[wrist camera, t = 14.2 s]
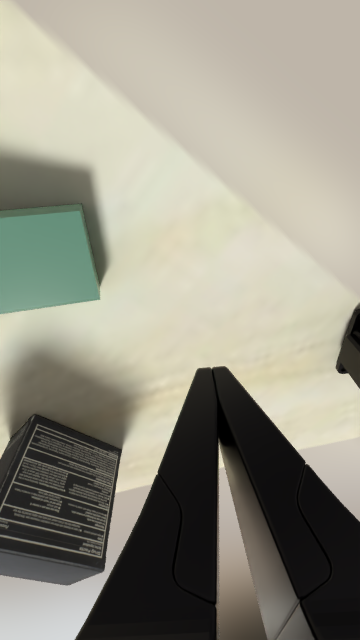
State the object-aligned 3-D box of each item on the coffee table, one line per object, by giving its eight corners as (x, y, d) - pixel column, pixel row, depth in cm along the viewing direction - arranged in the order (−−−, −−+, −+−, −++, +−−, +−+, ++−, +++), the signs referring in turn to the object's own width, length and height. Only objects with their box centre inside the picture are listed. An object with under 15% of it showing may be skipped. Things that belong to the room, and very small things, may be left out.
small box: (6, 441, 30) (-61, 570, 21) (34, 411, 27) (-30, 544, 18) (93, 472, 34) (67, 591, 25) (124, 449, 31) (107, 572, 23)
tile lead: (79, 210, 15) (-115, 228, 13) (99, 299, 18) (-56, 322, 16) (81, 203, 16) (-95, 218, 15) (99, 286, 20) (-44, 306, 18)
